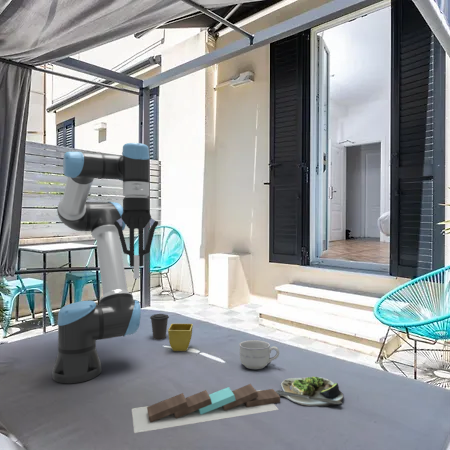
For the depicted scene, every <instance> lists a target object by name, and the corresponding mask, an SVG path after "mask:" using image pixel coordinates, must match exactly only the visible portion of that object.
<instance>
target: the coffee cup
mask: <svg viewBox="0 0 450 450" xmlns="http://www.w3.org/2000/svg"><path fill="white" fill-rule="evenodd" d="M169 318H170V316H169V315H168V314H164V313H154V314H152V315H150V317H149V319H150V323H151V329H152V331H151V332H152V338H153V340H156V341H160V340H165V339H166V337H167V332H168V329H167V328H168V319H169Z"/></svg>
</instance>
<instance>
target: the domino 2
mask: <svg viewBox="0 0 450 450" xmlns="http://www.w3.org/2000/svg"><path fill="white" fill-rule="evenodd" d="M209 395H210V394H209V393H208V391H207V389H205V390H203V391H200V392H198V393H194V394H192V395H190V396H187V397H185V399H186V401H187V405H188V408H185V409H183V410H180V411H178V412H175V413H174V415H175V418H179V417H181V416H184V415H186V414H188V413H191V412H193V411H196V410H198V409H201V408H203V407H206V406H208V405H211V404H212V402H211V398H210V396H209Z"/></svg>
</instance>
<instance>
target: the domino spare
mask: <svg viewBox="0 0 450 450" xmlns="http://www.w3.org/2000/svg"><path fill="white" fill-rule="evenodd" d="M232 391H233V390H231V387H229V386H228V387H225V388H222V389H220V390H217V391H215V392H212V393H210V394H208V395H209V396H210V398H211V402H212V404H211V405H208V406H206V407H203V408H201V409H198V410H199V412H200V414H201V415H202V414H204V413H206V412H209V411H211V410H214V409H216V408H219V407H221V406H223V405H226V404H228V403H231V402H233V401H236V400H235V396H234V394H233V392H232Z"/></svg>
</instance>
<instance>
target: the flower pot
mask: <svg viewBox="0 0 450 450" xmlns="http://www.w3.org/2000/svg"><path fill="white" fill-rule="evenodd" d="M193 325H194V324H193V323H171V324H170V326H169V328H168V329H167V332H168V333H167V334H168V341H169V342H168V343H169V346H170V348H171V350H172V351H173V352H186V351H187V350H188V349H189V346H190V343H191V340H192V335H193V328H194V326H193Z"/></svg>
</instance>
